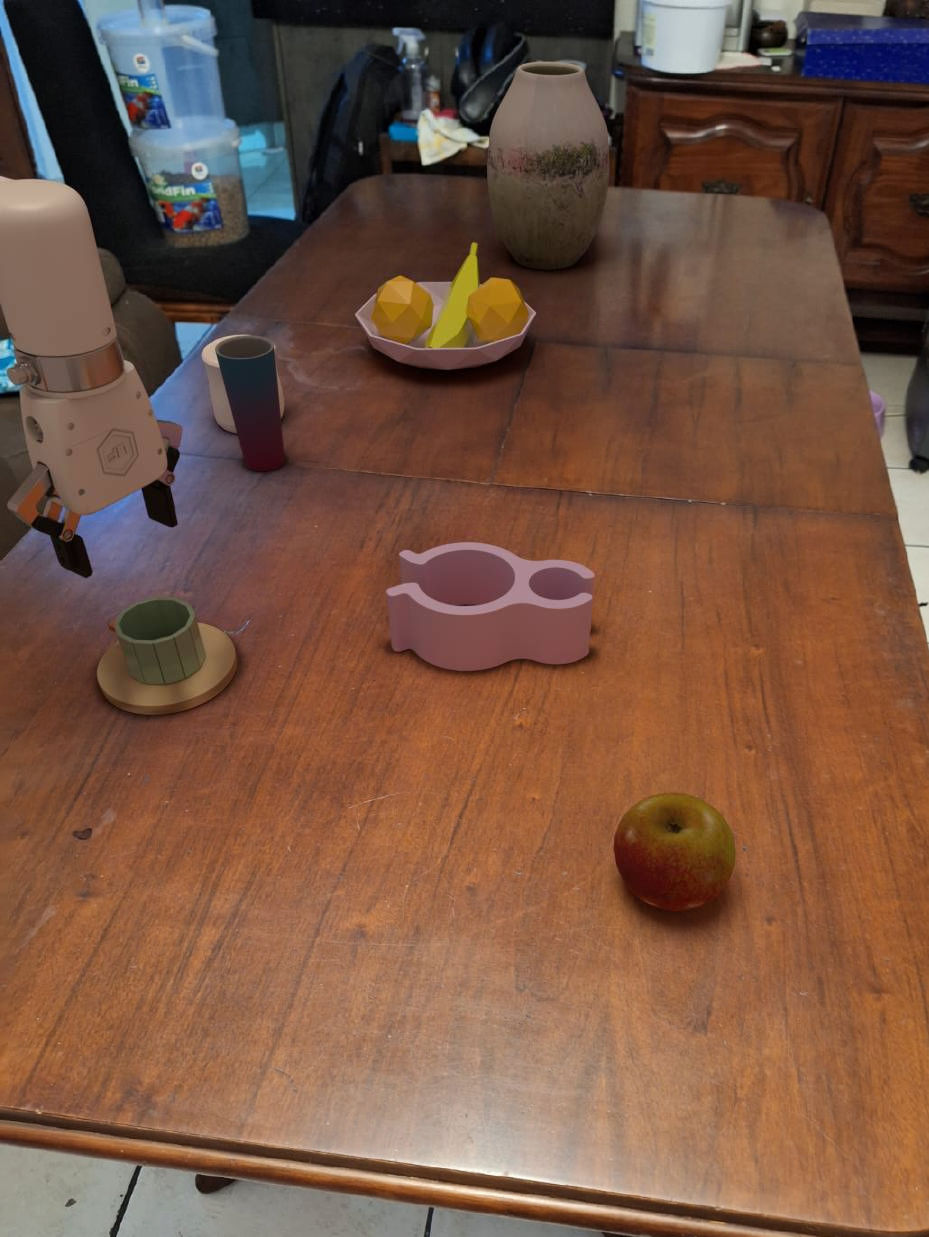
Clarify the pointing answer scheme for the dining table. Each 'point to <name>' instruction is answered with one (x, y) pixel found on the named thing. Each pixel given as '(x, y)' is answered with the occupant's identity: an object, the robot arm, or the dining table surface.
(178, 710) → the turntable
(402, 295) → the fruit bowl
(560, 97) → the vase
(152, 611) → the green mug
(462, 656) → the clip
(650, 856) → the fruit
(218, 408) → the cup
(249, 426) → the cup
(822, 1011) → the dining table surface
